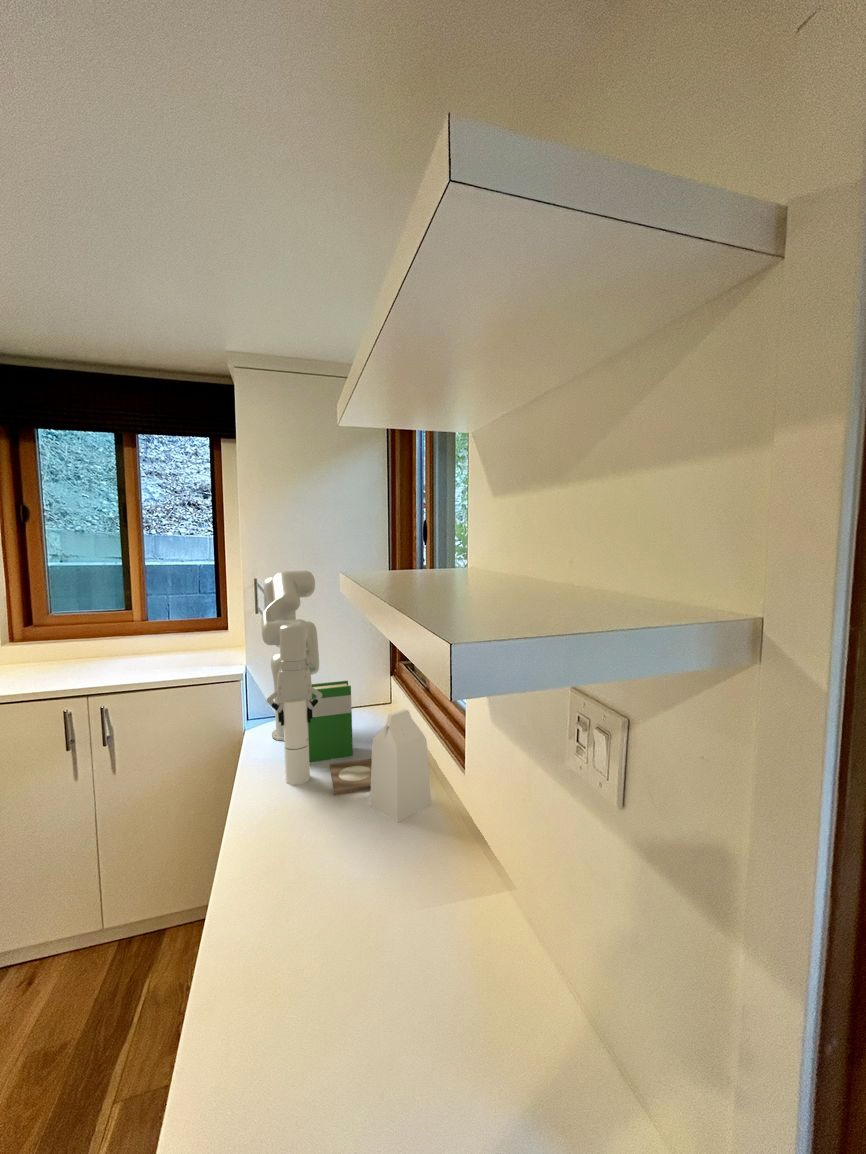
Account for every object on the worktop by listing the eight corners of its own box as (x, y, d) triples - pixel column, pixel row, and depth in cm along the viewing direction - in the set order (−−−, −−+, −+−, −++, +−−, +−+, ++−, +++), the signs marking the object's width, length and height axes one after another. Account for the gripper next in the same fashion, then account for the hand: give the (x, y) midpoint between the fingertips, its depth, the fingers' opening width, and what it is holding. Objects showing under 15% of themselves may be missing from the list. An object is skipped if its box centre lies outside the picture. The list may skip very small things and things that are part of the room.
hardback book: (349, 747, 174) (347, 680, 172) (352, 755, 167) (350, 686, 165) (297, 754, 168) (295, 685, 167) (298, 764, 161) (296, 691, 160)
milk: (403, 790, 143) (401, 702, 141) (430, 804, 135) (429, 711, 133) (370, 805, 135) (367, 712, 133) (397, 822, 127) (395, 723, 125)
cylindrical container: (313, 774, 154) (310, 695, 152) (305, 785, 147) (302, 703, 145) (291, 773, 155) (288, 695, 153) (281, 784, 148) (278, 702, 146)
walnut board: (330, 767, 158) (330, 763, 158) (373, 761, 162) (373, 757, 162) (334, 794, 141) (334, 790, 141) (382, 787, 145) (382, 783, 145)
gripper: (322, 659, 154) (324, 715, 156) (263, 664, 150) (266, 721, 151) (323, 665, 147) (325, 723, 148) (262, 670, 143) (264, 730, 144)
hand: (295, 722), depth 150 cm, fingers closed on cylindrical container, 7 cm apart
